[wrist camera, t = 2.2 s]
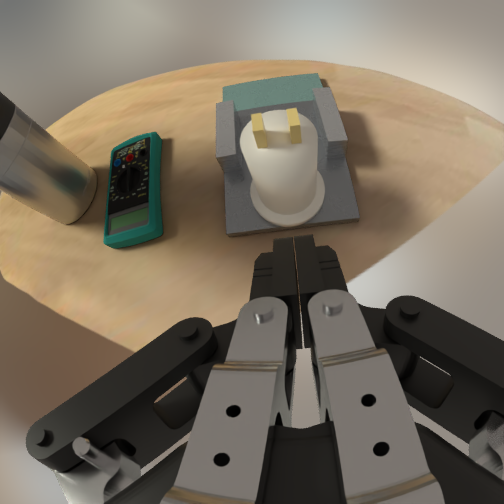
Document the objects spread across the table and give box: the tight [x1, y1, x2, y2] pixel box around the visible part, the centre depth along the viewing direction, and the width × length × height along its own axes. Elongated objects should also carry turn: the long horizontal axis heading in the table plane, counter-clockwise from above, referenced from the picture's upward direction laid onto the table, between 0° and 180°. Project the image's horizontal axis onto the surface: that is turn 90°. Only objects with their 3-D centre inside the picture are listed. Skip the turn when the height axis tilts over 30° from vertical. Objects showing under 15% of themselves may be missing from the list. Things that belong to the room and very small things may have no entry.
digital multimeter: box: [104, 132, 163, 248], centre depth 32 cm, size 7×15×3 cm, turn 9°
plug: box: [240, 108, 325, 227], centre depth 22 cm, size 7×7×11 cm
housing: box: [216, 73, 360, 237], centre depth 28 cm, size 13×22×4 cm, turn 4°
